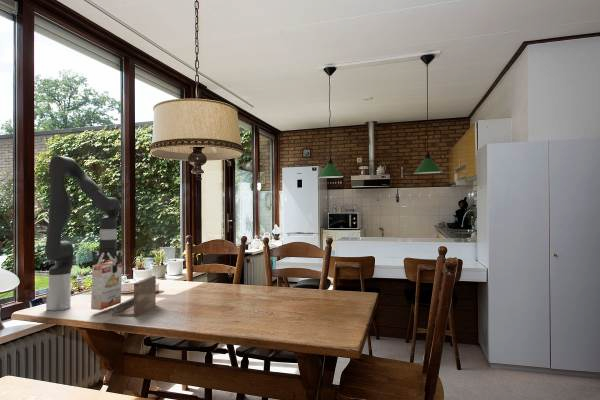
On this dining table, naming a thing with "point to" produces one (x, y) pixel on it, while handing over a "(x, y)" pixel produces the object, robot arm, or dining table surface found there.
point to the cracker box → (105, 286)
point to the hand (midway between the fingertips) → (107, 272)
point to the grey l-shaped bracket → (138, 299)
